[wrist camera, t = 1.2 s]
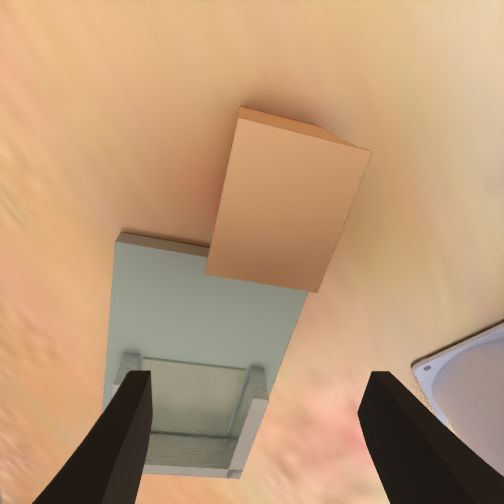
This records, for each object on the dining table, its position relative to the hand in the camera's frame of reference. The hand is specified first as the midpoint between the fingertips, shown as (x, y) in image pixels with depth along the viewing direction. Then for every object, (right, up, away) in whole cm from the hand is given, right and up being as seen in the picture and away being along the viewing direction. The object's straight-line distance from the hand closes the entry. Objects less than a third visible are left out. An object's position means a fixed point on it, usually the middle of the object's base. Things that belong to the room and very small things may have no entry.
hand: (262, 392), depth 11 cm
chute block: (0, +9, +7) cm, 11 cm away
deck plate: (-4, -2, +12) cm, 13 cm away
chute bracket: (-5, -5, +12) cm, 14 cm away
